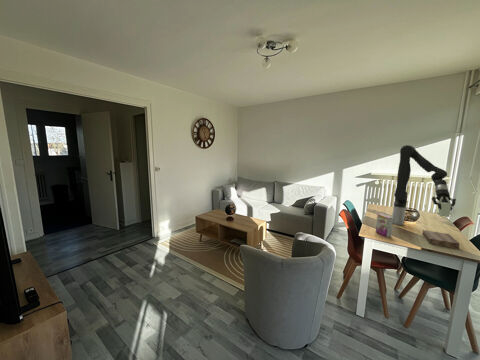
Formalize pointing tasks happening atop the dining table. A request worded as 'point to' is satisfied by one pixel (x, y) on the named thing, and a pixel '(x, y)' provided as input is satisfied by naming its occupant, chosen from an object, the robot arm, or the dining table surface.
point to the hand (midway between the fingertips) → (445, 209)
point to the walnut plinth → (440, 239)
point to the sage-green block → (444, 209)
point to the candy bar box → (384, 225)
